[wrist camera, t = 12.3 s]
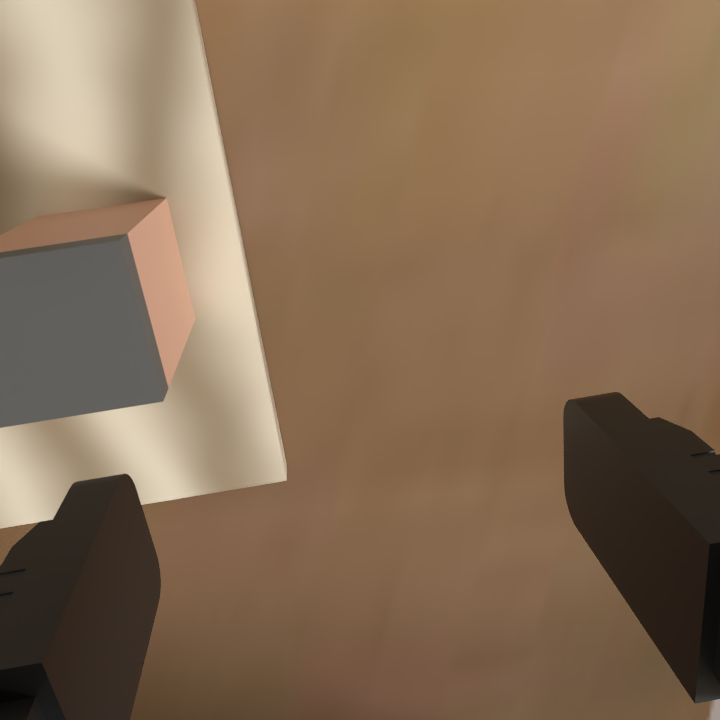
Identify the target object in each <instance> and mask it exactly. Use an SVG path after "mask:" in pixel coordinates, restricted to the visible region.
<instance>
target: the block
mask: <svg viewBox="0 0 720 720" xmlns="http://www.w3.org/2000/svg"><path fill="white" fill-rule="evenodd" d="M194 321H195V315H194V311H193V307H192V303H191V298H190V294H189V290H188V286H187V282H186V277H185V273H184V269H183V265H182V261H181V256H180V252H179V248H178V244H177V240H176V235H175V231H174V227H173V223H172V218H171V214H170V210H169V206H168V202H167V198H162V199H155V200H148V201H142V202H135V203H128V204H121V205H114V206H107V207H100V208H94V209H87V210H80V211H73V212H66V213H59V214H52V215H46V216H39V217H35V218H33V219H31V220H29V221H27V222H25V223H23V224H21V225H19V226H17V227H15V228H13V229H11V230H9V231H7V232H5V233H3V234H1V235H0V428H3V427H9V426H15V425H21V424H28V423H34V422H40V421H46V420H52V419H59V418H65V417H71V416H77V415H83V414H90V413H96V412H102V411H108V410H114V409H120V408H127V407H133V406H139V405H145V404H151V403H158V402H163V401H164V399H165V396H166V393H167V391H168V388H169V386H170V383H171V380H172V378H173V375H174V373H175V370H176V368H177V365H178V362H179V360H180V357H181V355H182V352H183V349H184V347H185V344H186V342H187V339H188V336H189V334H190V331H191V329H192V326H193V324H194Z"/></svg>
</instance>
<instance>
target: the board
mask: <svg viewBox="0 0 720 720" xmlns="http://www.w3.org/2000/svg"><path fill="white" fill-rule="evenodd" d="M162 198H167V202H168V206H169V210H170V214H171V218H172V223H173V227H174V231H175V235H176V240H177V244H178V248H179V252H180V256H181V261H182V265H183V269H184V273H185V277H186V282H187V286H188V290H189V294H190V298H191V303H192V307H193V311H194V315H195V321H194V324H193V326H192V329H191V331H190V334H189V336H188V339H187V342H186V344H185V347H184V349H183V352H182V355H181V357H180V360H179V362H178V365H177V368H176V370H175V373H174V375H173V378H172V380H171V383H170V386H169V388H168V391H167V393H166V396H165V399H164V401H163V402H158V403H151V404H145V405H139V406H133V407H127V408H120V409H114V410H108V411H102V412H96V413H90V414H83V415H77V416H71V417H65V418H59V419H52V420H46V421H40V422H34V423H28V424H21V425H15V426H9V427H3V428H0V528H6V527H12V526H18V525H24V524H30V523H36V522H41V521H47V520H53V518H54V516H55V515H56V513H57V511H58V509H59V507H60V505H61V503H62V502H63V500H64V498H65V496H66V494H67V492H68V490H69V489H70V487H71V485H72V484H73V483H74V482H77V481H83V480H89V479H95V478H101V477H107V476H113V475H119V474H128V475H129V476H130V477H131V478H132V480H133V482H134V484H135V487H136V490H137V493H138V496H139V499H140V502H141V505H143V504H149V503H155V502H161V501H167V500H173V499H179V498H185V497H191V496H197V495H203V494H209V493H215V492H221V491H227V490H233V489H239V488H245V487H251V486H257V485H263V484H269V483H275V482H281V481H287V470H286V459H285V454H284V449H283V444H282V439H281V434H280V429H279V424H278V419H277V413H276V408H275V403H274V398H273V393H272V388H271V383H270V378H269V373H268V368H267V363H266V358H265V353H264V348H263V342H262V337H261V332H260V327H259V322H258V317H257V312H256V307H255V302H254V297H253V292H252V287H251V282H250V277H249V271H248V266H247V261H246V256H245V251H244V246H243V241H242V236H241V231H240V226H239V221H238V216H237V211H236V206H235V201H234V195H233V190H232V185H231V180H230V175H229V170H228V165H227V160H226V155H225V150H224V145H223V140H222V135H221V130H220V124H219V119H218V114H217V109H216V104H215V99H214V94H213V89H212V84H211V79H210V74H209V69H208V64H207V59H206V53H205V48H204V43H203V38H202V33H201V28H200V23H199V18H198V13H197V8H196V3H195V0H0V235H1V234H3V233H5V232H7V231H9V230H11V229H13V228H15V227H17V226H19V225H21V224H23V223H25V222H27V221H29V220H31V219H33V218H35V217H39V216H46V215H52V214H59V213H66V212H73V211H80V210H87V209H94V208H100V207H107V206H114V205H121V204H128V203H135V202H142V201H148V200H155V199H162Z"/></svg>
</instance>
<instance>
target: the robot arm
mask: <svg viewBox="0 0 720 720" xmlns="http://www.w3.org/2000/svg"><path fill="white" fill-rule="evenodd" d="M564 487H565V496H566V501H567V505H568V509H569V512H570V515H571V517H572V520H573V522H574V524H575V526H576V527H577V529H578V530H579V532H580V533H581V535H582V536H583V538H584V539H585V541H586V542H587V544H588V545H589V547H590V548H591V550H592V551H593V553H594V554H595V556H596V557H597V559H598V560H599V562H600V563H601V565H602V566H603V568H604V569H605V571H606V572H607V574H608V575H609V577H610V578H611V580H612V581H613V582H614V584H615V585H616V587H617V588H618V590H619V591H620V593H621V594H622V596H623V597H624V599H625V600H626V602H627V603H628V605H629V606H630V608H631V609H632V611H633V612H634V614H635V615H636V617H637V618H638V620H639V621H640V623H641V624H642V626H643V627H644V629H645V630H646V632H647V633H648V635H649V636H650V638H651V639H652V640H653V642H654V643H655V645H656V646H657V648H658V649H659V651H660V652H661V654H662V655H663V657H664V658H665V660H666V661H667V663H668V664H669V666H670V667H671V669H672V670H673V672H674V673H675V675H676V676H677V678H678V679H679V681H680V682H681V684H682V685H683V687H684V688H685V690H686V691H687V693H688V694H689V695H690V697H691V698H692V700H693V701H694V703H701V702H706V701H711V700H716V699H720V454H719V455H716V454H715V450H714V449H712V448H711V447H710V446H709V445H708V444H706V443H705V442H704V441H703V440H701V439H700V438H699V437H698V436H697V435H695V434H694V433H693V432H692V431H690V430H687V429H685V428H683V427H680V426H678V425H676V424H673V423H671V422H669V421H666V420H664V419H662V418H659V417H657V418H652V419H649V418H648V417H646V416H645V415H644V414H643V413H642V412H641V411H640V410H639V409H637V408H636V407H635V406H634V405H633V404H632V403H631V402H630V401H629V400H627V399H626V398H625V397H624V396H623V395H622V394H620V393H618V392H613V393H607V394H601V395H595V396H589V397H583V398H577V399H571V400H568V401H567V402H566V404H565V408H564ZM160 588H161V580H160V568H159V562H158V558H157V554H156V551H155V548H154V544H153V541H152V538H151V535H150V532H149V528H148V525H147V522H146V519H145V515H144V512H143V509H142V506H141V502H140V499H139V496H138V493H137V490H136V487H135V484H134V482H133V480H132V478H131V477H130V476H129V475H128V474H119V475H113V476H107V477H101V478H95V479H89V480H83V481H77V482H74V483H73V484H72V485H71V487H70V489H69V490H68V492H67V494H66V496H65V498H64V500H63V502H62V503H61V505H60V507H59V509H58V511H57V513H56V515H55V516H54V518H53V520H47V521H41V522H39V523H38V524H37V525H36V526H35V527H34V528H33V529H32V530H30V531H29V532H28V533H27V534H26V535H25V536H24V537H23V538H22V539H20V540H19V541H18V542H17V543H16V544H15V545H14V546H13V547H12V548H11V550H10V551H9V553H8V555H7V556H6V558H5V560H4V561H3V563H2V565H1V566H0V720H130V717H131V713H132V709H133V705H134V701H135V696H136V692H137V688H138V684H139V680H140V676H141V672H142V668H143V664H144V660H145V656H146V652H147V648H148V644H149V640H150V635H151V631H152V627H153V623H154V619H155V615H156V611H157V607H158V603H159V598H160Z"/></svg>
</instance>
